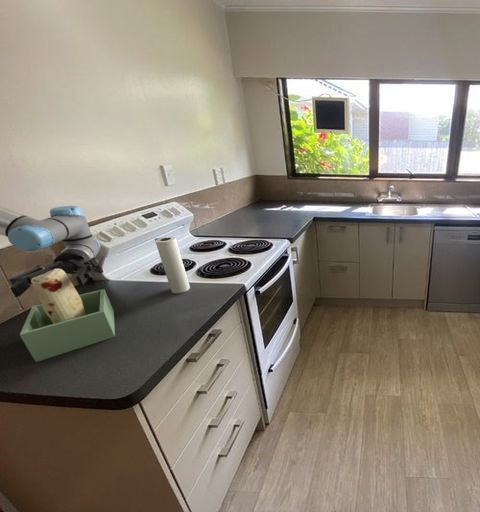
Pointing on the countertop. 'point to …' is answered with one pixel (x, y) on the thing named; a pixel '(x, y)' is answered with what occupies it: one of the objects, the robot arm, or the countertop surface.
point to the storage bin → (69, 328)
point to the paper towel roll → (172, 264)
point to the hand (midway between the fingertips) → (48, 286)
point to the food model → (58, 296)
